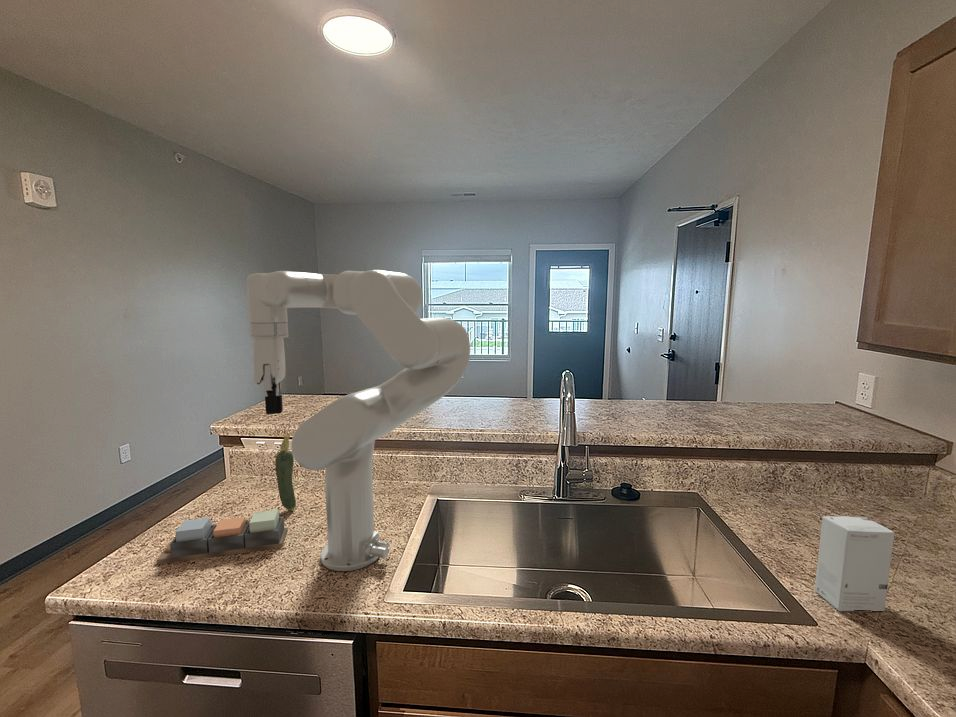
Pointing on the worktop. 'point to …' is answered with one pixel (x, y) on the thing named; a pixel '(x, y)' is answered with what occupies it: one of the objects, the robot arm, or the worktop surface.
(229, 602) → the worktop surface
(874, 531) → the skincare box
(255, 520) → the sage key
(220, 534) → the terracotta key
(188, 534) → the slate key
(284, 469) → the vegetable
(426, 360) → the robot arm
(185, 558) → the gray compartment tray
